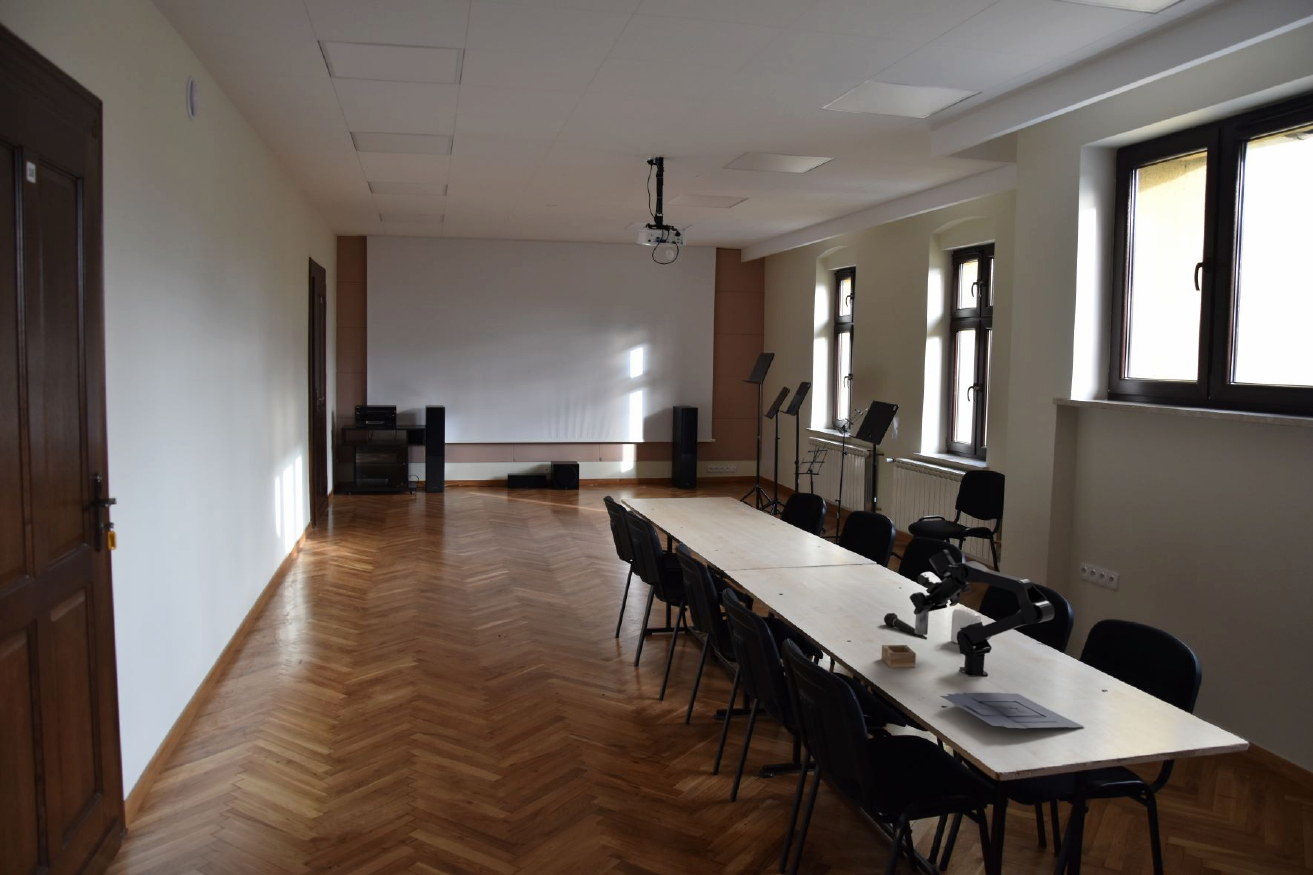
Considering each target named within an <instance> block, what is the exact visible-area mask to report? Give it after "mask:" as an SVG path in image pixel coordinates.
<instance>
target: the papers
mask: <svg viewBox="0 0 1313 875" xmlns="http://www.w3.org/2000/svg"><path fill="white" fill-rule="evenodd" d="M940 697H941V698H942V699H945V700H946V701H948V702H950V703H952V704H953V705H955V706H957V707H959V708H960V709H963V710H964V711H966V712H968V713H970V714H972V715H973V716H975V717H977V718H978V719H980V720H982V721H984V722H985V723H987V724H989V725H991V726H992V727H1005V728H1008V729H1012V728H1014V729H1015V728H1017V729H1033V728H1035V729H1037V728H1085V725H1081V724H1080V723H1078V722H1076V721H1074V720H1071V719H1069V718H1067V717H1066V716H1063V715H1061V714H1059V713H1058V712H1054V711H1053V710H1051V709H1048V708H1046V707H1045V706H1043V705H1040V704H1038V703H1037V702H1034V701H1033V700H1031V699H1029V698H1027V697H1026V696H1023V695H1021V694H1019V693H1010V692H1009V693H1007V692H961V693H960V692H957V693H956V692H954V693H946V695H940Z"/></svg>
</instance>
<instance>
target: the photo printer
mask: <svg viewBox="0 0 1313 875" xmlns="http://www.w3.org/2000/svg"><path fill="white" fill-rule="evenodd" d="M951 615H952V616H951V630H950V632H951V634H950V635H951V636H950V641H951V642H953V643H955V644H958V642H957V632H958V631H960V630H961V629H960V628H961V627H966V626H968V625H970V624H973V623H977V622H982V618H981V616H980V614H978V613H977V612H976V611H974V610H971V609H969V608H965V607H956V608H954V609H953V611H952V614H951ZM974 647H975V646H974Z"/></svg>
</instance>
